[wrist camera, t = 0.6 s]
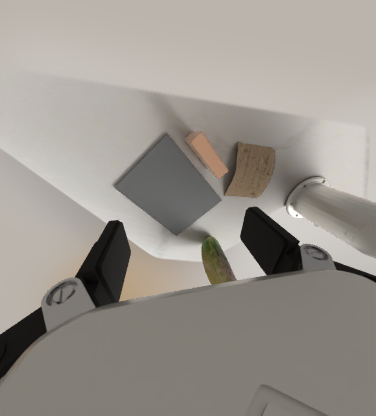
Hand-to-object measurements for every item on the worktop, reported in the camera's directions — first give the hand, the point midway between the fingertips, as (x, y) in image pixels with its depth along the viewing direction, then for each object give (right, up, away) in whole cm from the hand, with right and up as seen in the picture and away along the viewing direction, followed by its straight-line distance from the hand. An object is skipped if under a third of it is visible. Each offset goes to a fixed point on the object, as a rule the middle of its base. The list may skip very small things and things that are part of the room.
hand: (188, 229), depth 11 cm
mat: (-4, +5, +23) cm, 24 cm away
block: (+3, +14, +19) cm, 24 cm away
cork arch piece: (+15, +11, +24) cm, 30 cm away
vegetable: (+5, -8, +32) cm, 34 cm away
